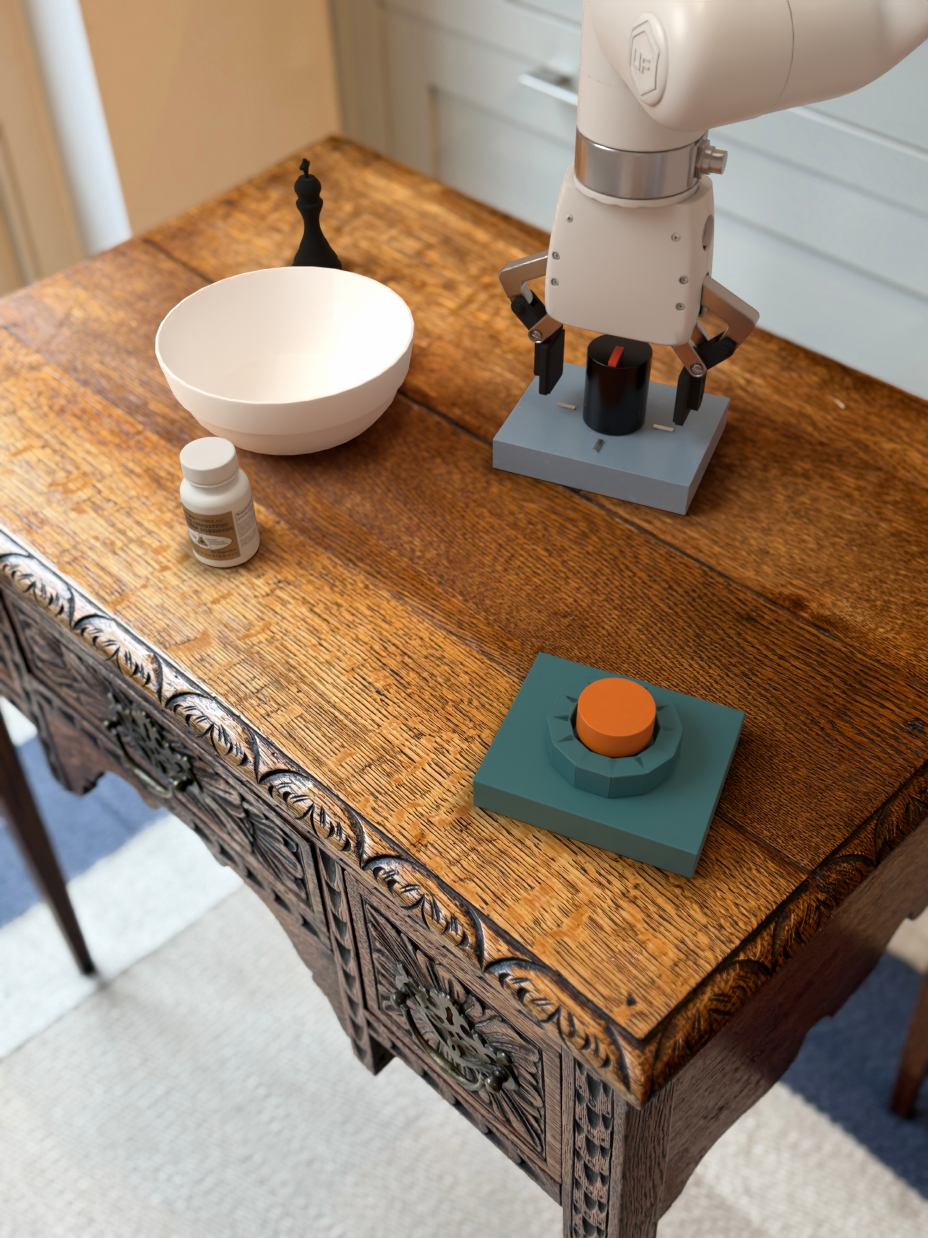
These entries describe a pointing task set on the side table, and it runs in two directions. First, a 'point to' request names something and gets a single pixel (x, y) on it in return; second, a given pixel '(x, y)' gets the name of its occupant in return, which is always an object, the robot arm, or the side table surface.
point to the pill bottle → (217, 503)
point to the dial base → (611, 444)
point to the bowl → (287, 356)
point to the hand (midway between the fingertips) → (615, 399)
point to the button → (615, 717)
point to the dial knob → (616, 384)
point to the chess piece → (312, 224)
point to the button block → (610, 769)
